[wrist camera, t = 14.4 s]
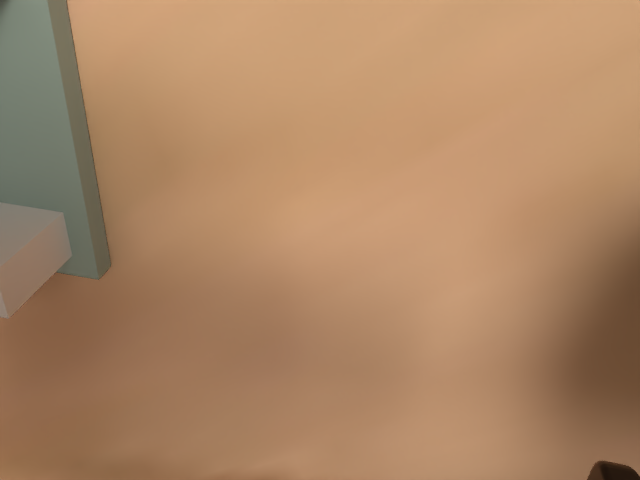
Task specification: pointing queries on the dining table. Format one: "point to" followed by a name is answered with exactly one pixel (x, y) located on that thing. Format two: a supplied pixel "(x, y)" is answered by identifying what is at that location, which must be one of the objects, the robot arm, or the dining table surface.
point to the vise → (44, 156)
